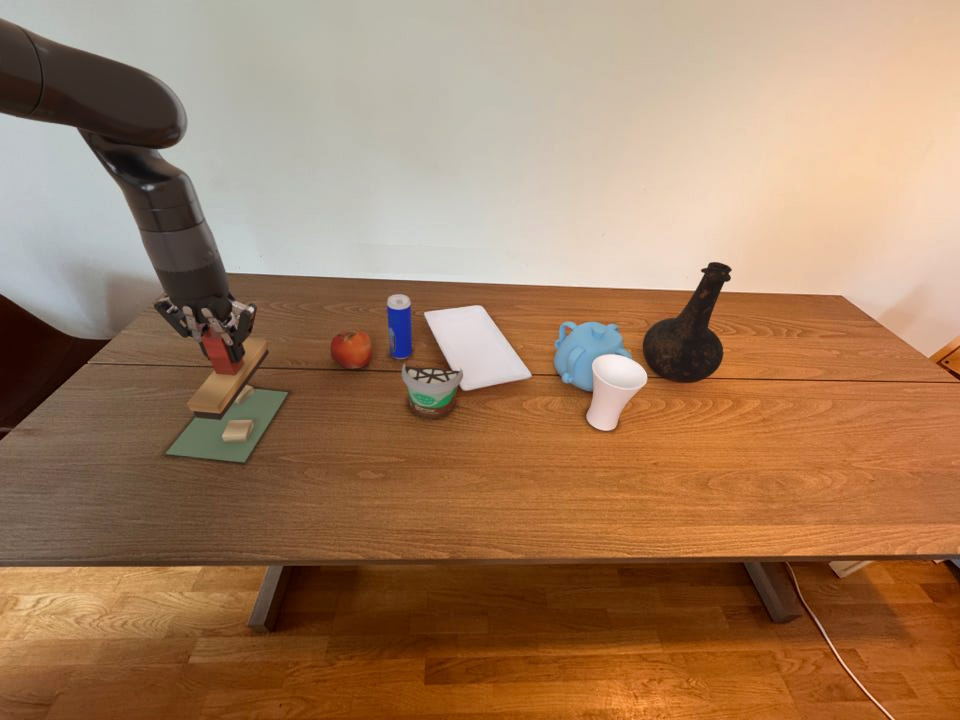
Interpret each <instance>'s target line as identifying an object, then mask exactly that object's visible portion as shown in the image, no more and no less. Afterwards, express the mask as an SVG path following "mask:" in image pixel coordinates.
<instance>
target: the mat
mask: <svg viewBox="0 0 960 720" xmlns="http://www.w3.org/2000/svg"><path fill="white" fill-rule="evenodd" d="M253 390H254V393H253V394H252V395H251V396H250V397H249V398H247V399H246V400H245V401H244V402H243V403H242V404H240V405H239V404H236V403H233V404H232V405H231V407H230V408H229V409H228V411H227V412H226V414H225V415H224V416H223V418H222V419H221V420H214V419H204V418H197V417H196V416H195V417H194V418H193V420H191V422H190V423H189V424H188V426H187V427H186V428H185V429H184V430H183V432H182V433H181V434H179V436H178V437H177V438H176V440H175V441H174V442H173V444H172V445H171V446H170V447H169V448H168V450H166V452H165V455H168V456H169V455H170V456H180V457H188V458H196V459H205V460H206V459H207V460H216V461H225V462H234V463H243V464H244V463H246V461H247V460H248V458H249V457H250V455H251V454H252V452H253V451H254V449H255V447H256V446H257V444H258V443H259V441H260V440H261V438H262V437H263V434H264V433H265V432H266V430H267V428H268V426H269V425H270V423H271V422H272V420H273V418H274V417H275V415H277V412H278V411H279V409H280V407H281V406H282V404H283V402H285V399H286V398H287V396H288V395H289V391H279V390H272V389H271V390H270V389H261V388H253ZM230 420H252V421H253V424H254V427H253V429H252V432H251V434H250V437H249V439H248V441H247V442H224V440H223V438H222V435H223V433H224V431H225V429H226V427H227V425H228V423H229V421H230Z"/></svg>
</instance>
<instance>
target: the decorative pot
mask: <svg viewBox="0 0 960 720" xmlns="http://www.w3.org/2000/svg"><path fill="white" fill-rule="evenodd" d="M566 328H569V329H570V330H572V331H570V332H569V333H568V335H567V336H566ZM558 337H559V338H558V339H556V340H555V341H554V344H553V345H554V348H555V349H556V353H555V354H554V358H553V366H554V368H555V370H556V373H557V374H558V375H559V376H560V377H561V381H562V382H563V383H564V384H571V385H572V386H574V387H575V388H579V389H580V390H582V391H586V392H593V389H594V385H593V370H592V364H593V361H594V360H595V359H596V358H597V357H599V356H602V355H607V354H615V355H621V356H624V357H627V358H630V359H632V360H634V358H633V355H632V354H631V353H630V352H629V351H628V350H626V349H625V344H624V339H623V336H622V334H621V333H620V328H619V326H618V325H617V324H615V323H609V324H608V325H605V324H604V323H601V322H597V321H587V322H583V323H581V324H576V322H574V321H565V322H562V324H561V325H560V326H559V329H558Z"/></svg>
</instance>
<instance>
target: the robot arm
mask: <svg viewBox="0 0 960 720" xmlns="http://www.w3.org/2000/svg"><path fill="white" fill-rule="evenodd" d="M0 114H1V115H6V116H11V117H15V118H18V119H23V120H28V121H33V122H40V123H47V124H55V125H62V126H68V127H73V128H76V130H77V132H78V133H79V135H80V136H81V139H83V141H84V142H85V144H86V145H87V146H88V148H89V149H90V151H91V152H92V153H93V155H94V156H95V157H96V159H97V160H98V162H99V163H100V164H101V166H102V167H103V168H104V170H105V171H106V172H107V174H108V175H109V176H110V177H111V178H112V179H113V181H114V182H115V183H116V185H117V186H118V187H119V189H120V190H121V192H122V195H123V197H124V200H125V202H126V203H127V206H128V208H129V210H130V213H131V215H132V217H133V219H134V222H135V223H136V226H137V229H138V232H139V235H140V238H141V242H142V245H143V247H144V250H145V252H146V255H147V256H148V259H149V261H150V263H151V265H152V267H153V269H154V273H155V274H156V276H157V278H158V280H159V283H160V286H161V287H162V289H163V291H164V293H165V295H164V296H163V297H161V298H160V299H159V300H157V301H156V302H155V303H154V304H153V308H154V309H155V311H156V312H157V313H158V314H159V315H160V316H161V317H162V318H163V319H164V320H165V321H166V322H167V323H168V324H169V325H170V327H172V328H173V330H174V331H176V333H178V334H179V336H181V337H182V338H184V339H187V338H189V337H190V338H192V339H193V340H194V341H195V342H196V343H198V345H199V347H200V351H201V352H202V354H203V356H204V357H205V358H207V360H208V361H209V362H211V361H210V358H209V356H208V354H207V351H206V349H205V347H204V344H203V342H202V340H201V337H202V336H203V335H204V334H205V333H206V332H207V331H208V330H209V329H210V328H211V327H213V329H214V330H215V332H216V333H219V334H220V335H221V337H222V338H223V340H224V342H225V343H226V345H225V346H226V348H227V351H228V353H229V356H230V358H231V361H232V363H239V362H240V360H241V359H242V358H243V357H244V355H245V350H244V347H243V344H242V343H243V342H244V341H245V340H246V339H247V338H249V336H250V335H251V334H252V332H253V330H254V324H255V319H256V314H257V311H258V306H257V305H256V304H255V303H253V302H250V303H248V304H247V305H246V304H244V303H242V302H239V301H237V298H236V296H235V295H234V294H233V293H232V292H231V290H230V287H229V285H230V283H229V277H228V274H227V270H226V268H225V266H224V265H225V264H224V262H223V259H222V257H221V253H220V251H219V248H218V245H217V241H216V239H215V236H214V234H213V232H212V231H213V230H212V229H211V227H210V225H209V223H208V222H207V219H206V216H205V213H204V209H203V207H202V204H201V201H200V199H199V196H198V192H197V191H196V188H195V185H194V183H193V181H192V179H191V177H190V176H189V174H188V173H187V172H186V171H184V170H183V169H181V168H179V167H177V166H175V165H174V164H173V163H170V162H169V161H167V160H166V159H165V158H164V157H163V155H162V154H161V153H160V151H159V150H166V149H170V148H172V147H175V146H176V145H178V144H179V143H180V142H181V141H182V140H183V139H184V137H185V136H186V134H187V131H188V126H189V125H188V123H189V122H188V121H189V120H188V115H187V111H186V108H185V106H184V104H183V102H182V101H181V99H180V98H179V96H178V95H177V94H176V92H175V91H174V90H173V89H172V88H171V87H170V86H169V85H168V84H166V82H164V81H163V80H162V79H160V78H158V77H157V76H155V75H153V74H152V73H150V72H148V71H145V70H143V69H140V68H138V67H135V66H133V65H129V64H127V63H124V62H121V61H119V60H114V59H112V58H108V57H106V56H102V55H99V54H97V53H92V52H89V51H87V50H83V49H80V48H77V47H74V46H69V45H67V44H63V43H61V42H57V41H55V40H52V39H49V38H47V37H45V36H43V35H40V34H38V33H35V32H34V31H31V30H29V29H27V28H25V27H23V26H21V25H18V24H16V23H14V22H11V21H9V20H6V19H4V18H2V17H0ZM233 311H234V313H235V315H234V313H233ZM181 321H182V323H181ZM237 321H238V322H237ZM183 324H184V325H183ZM229 331H230V332H231V333H230V332H229Z"/></svg>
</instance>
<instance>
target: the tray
mask: <svg viewBox="0 0 960 720" xmlns="http://www.w3.org/2000/svg"><path fill="white" fill-rule="evenodd" d="M423 317H424V319H425V321H426V322H427V324H428V327H429V329H430V331H431V332H432V334H433V337H434V339H435V341H436V342H437V345H438V347H439V349H440V350H441V352H442V355H443V356H444V358H445V360H446V362H447V364H448V366H449V368H450V370H451V371H460V369H461V370H462V371H463V379H462V381H461V382H460V384H459V385H458V386H459V387H460V388H461V390H462V391H465V392H468V391H473V390H479V389H483V388H487V387H488V388H489V387H492V386H495V385H496V386H497V385H502V384H506V383H507V384H508V383H512V382H513V383H514V382H518V381H524V380H528V379H531V378H532V376H533V375H532V373H531V371H530V369H529V368H528V367H527V365H526V364H525V363H524V361H523V360H522V359H521V358H520V356H519V355H518V353H517V352H516V351H515V349H514V348H513V346H512V345H511V344H510V343H509V341H508V339H507V338H506V337H505V335H504V334H503V332H502V331H501V330H500V329H499V327H498V326H497V325H496V323H495V322H494V320H493V319H492V318H491V316H490V315H489V313H488V312H487V311H486V309H485V307H483V306H482V305H468V306H462V307H452V308H445V309H436V310H429V311H424V312H423Z"/></svg>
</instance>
